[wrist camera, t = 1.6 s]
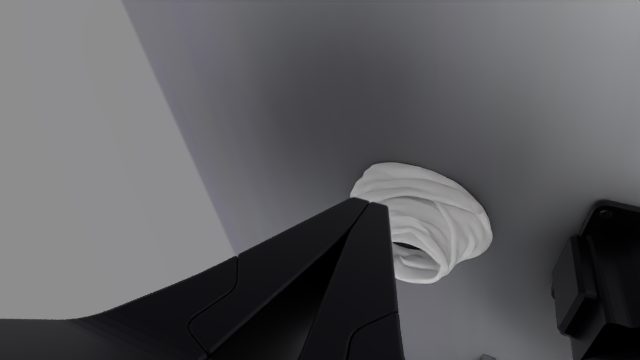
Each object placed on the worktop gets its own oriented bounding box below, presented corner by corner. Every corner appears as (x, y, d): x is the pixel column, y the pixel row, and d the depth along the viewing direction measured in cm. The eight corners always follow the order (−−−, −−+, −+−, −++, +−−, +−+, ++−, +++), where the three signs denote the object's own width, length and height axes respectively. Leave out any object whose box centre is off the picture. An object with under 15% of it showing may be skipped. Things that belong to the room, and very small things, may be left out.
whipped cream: (505, 175, 21) (513, 223, 17) (474, 273, 24) (475, 334, 20) (359, 148, 23) (334, 185, 19) (348, 241, 26) (325, 290, 22)
